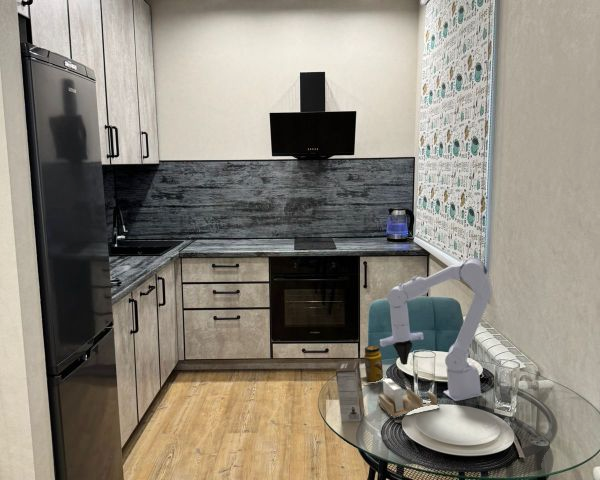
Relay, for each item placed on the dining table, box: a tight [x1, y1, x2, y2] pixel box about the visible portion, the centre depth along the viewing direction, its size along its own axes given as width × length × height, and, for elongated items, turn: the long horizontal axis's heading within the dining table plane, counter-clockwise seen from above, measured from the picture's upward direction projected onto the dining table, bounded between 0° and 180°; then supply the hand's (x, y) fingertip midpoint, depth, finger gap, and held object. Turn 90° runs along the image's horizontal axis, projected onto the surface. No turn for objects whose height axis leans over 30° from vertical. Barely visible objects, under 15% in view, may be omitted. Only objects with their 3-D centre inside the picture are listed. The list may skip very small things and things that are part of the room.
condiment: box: [361, 345, 384, 386], centre depth 198 cm, size 7×8×12 cm
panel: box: [382, 378, 404, 412], centre depth 172 cm, size 2×9×7 cm, turn 14°
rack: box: [377, 388, 438, 416], centre depth 174 cm, size 15×12×4 cm
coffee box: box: [335, 359, 365, 423], centre depth 171 cm, size 9×6×16 cm
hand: (404, 363), depth 183 cm, fingers closed
